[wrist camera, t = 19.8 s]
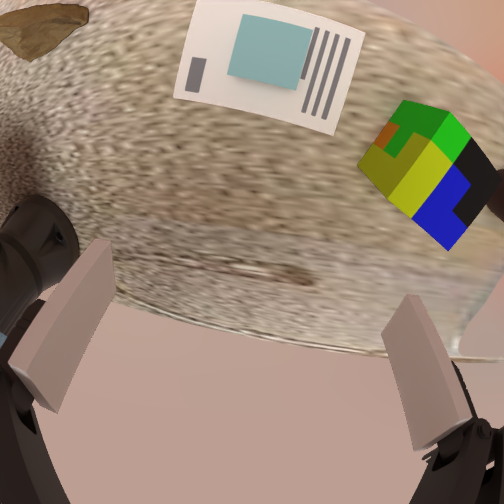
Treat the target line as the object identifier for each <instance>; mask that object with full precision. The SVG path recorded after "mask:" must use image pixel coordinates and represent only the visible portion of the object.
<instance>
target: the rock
mask: <svg viewBox="0 0 504 504" xmlns="http://www.w3.org/2000/svg"><path fill="white" fill-rule="evenodd" d="M87 20H88V9H87V8H86V7H84V6H79V5H77V4H61V3H56V4H48V5H47V4H45V5H36V6H31V7H29V8H24V9H20V10H15V11H12V12H8V13H5V14H3V15H1V16H0V41H1V42H2V43H3V44H4V45H6V46H7V47H8V48H10V49H11V50H12V51H13V53H14V54H15V55H17V56H18V57H20V58H22V59H24V60H25V59H26V60H27V61H29V62H31V61H32V60H33V59H35V58H37V57H39V56H42V55H44V54H47V53H48V52H49V51H50V50H52V49H53V48H55V47H56V46H57V45H58V44H59V43H60V42H61V41H62V40H63V39H64V38H66V37H67V36H68V35H69V34H70V33H71V32H72V31H73V30H74V29H76V28H78V27H80V26H83V25H84V24H85V23H86V22H87Z"/></svg>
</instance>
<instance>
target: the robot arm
mask: <svg viewBox="0 0 504 504" xmlns="http://www.w3.org/2000/svg"><path fill="white" fill-rule="evenodd" d="M60 281H61V282H60ZM58 282H60V283H59V284H58V286H57V287H56V288H55V290H54V291H53V293H52V294H51V295H50V297H49V298H48V300H47V301H44V300H41V299H37V298H38V297H39V295H40V294H41V293H42V292H43V291H44V290H46V289H48V288H50V287H51V286H53V285H55V284H57V283H58ZM115 293H116V284H115V276H114V268H113V259H112V249H111V241H107V240H102V239H98V238H95V239H94V240H93V242H92V243H91V244H90V245H89V246H88V247H87V249H86V250H85V251H84V252H83V254H82V255H81V256H80V257H79V245H78V240H77V237H76V234H75V232H74V229H73V227H72V225H71V223H70V222H69V220H68V219H67V217H66V216H65V214H64V213H63V212H62V211H61V210H60V209H59V208H58V207H57V206H56V205H55V204H54V203H53V202H51V201H50V200H48V199H46V198H44V197H41V196H37V195H31V196H27V197H25V198H24V199H22V200H21V201H20V202H18V203H17V204H16V205H15V206H14V207H13V208H12V209H11V211H10V213H9V214H8V216H7V218H6V219H5V221H4V223H3V224H2V226H1V228H0V504H1V503H2V504H70V502H69V500H68V498H67V496H66V494H65V492H64V489H63V487H62V485H61V483H60V481H59V479H58V476H57V474H56V472H55V469H54V467H53V464H52V462H51V459H50V457H49V454H48V451H47V449H46V446H45V443H44V441H43V438H42V434H41V431H40V428H39V425H38V421H37V418H36V415H35V411H34V408H33V406H32V403H33V401H34V399H35V400H36V401H37V402H38V403H39V405H40V406H42V407H44V408H46V409H48V410H50V411H53V412H55V413H57V414H58V411H59V409H60V406H61V404H62V401H63V399H64V396H65V394H66V392H67V389H68V387H69V385H70V383H71V380H72V378H73V376H74V373H75V371H76V369H77V367H78V365H79V363H80V361H81V358H82V356H83V354H84V352H85V350H86V348H87V346H88V344H89V342H90V340H91V338H92V336H93V334H94V332H95V330H96V328H97V326H98V324H99V322H100V320H101V318H102V316H103V314H104V313H105V311H106V309H107V307H108V305H109V303H110V302H111V300H112V298H113V296H114V294H115ZM36 299H37V300H36ZM381 336H382V338H383V341H384V344H385V347H386V351H387V354H388V357H389V360H390V363H391V366H392V370H393V373H394V376H395V380H396V383H397V386H398V390H399V393H400V397H401V401H402V404H403V408H404V412H405V416H406V419H407V424H408V427H409V432H410V436H411V441H412V445H413V450H414V452H416V451H420V450H425V449H428V448H430V447H431V446H433V445H434V444H436V443H437V445H438V447H437V448H436V449H434V450H433V451H431V452H429V453H428V454H426V455H424V457H423V458H422V460H425V459H427V458H428V457H430V456H431V458H430V459H428V460H427V461H426V462H427V463H428V465H427V468H426V470H425V472H424V474H423V477H422V479H421V481H420V483H419V485H418V487H417V489H416V491H415V493H414V495H413V497H412V499H411V501H410V503H409V504H504V426H503V427H502V428H500V429H496V428H492V427H491V426H490V424H489V422H487V421H486V420H485V419H483V418H480V419H478V417H477V414H476V412H475V409H474V406H473V403H472V401H471V398H470V395H469V393H468V390H467V389H466V385H465V383H464V381H463V378H462V375H461V373H460V371H459V369H458V368H457V366H456V365H455V364H454V362H453V361H451V360H450V358H449V356H448V354H447V351H446V349H445V347H444V345H443V343H442V341H441V338H440V336H439V334H438V332H437V330H436V328H435V326H434V324H433V322H432V320H431V318H430V316H429V314H428V312H427V310H426V308H425V306H424V304H423V303H422V301H421V299H420V297H419V296H417V295H411V294H406V296H405V298H404V299H403V301H402V303H401V304H400V306H399V307H398V309H397V310H396V312H395V314H394V315H393V317H392V318H391V320H390V321H389V323H388V324H387V326H386V327H385V329H384V330H383V332H382V333H381ZM494 460H495V461H494ZM492 461H494V466H493V467H492V468H490V469H488V470H486V465H487V464H489V463H491V462H492Z"/></svg>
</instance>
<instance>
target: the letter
mask: <svg viewBox="0 0 504 504" xmlns="http://www.w3.org/2000/svg"><path fill="white" fill-rule="evenodd" d="M243 14H247V15H253V16H258V17H263V18H268V19H273V20H277V21H281V22H286V23H290V24H293V25H297V26H301V27H304V28H308V29H311V30H313V32H312V36H311V39H310V43H309V46H308V50H307V53H306V57H305V60H304V64H303V67H302V71H301V74H300V78H299V82H298V85H297V89H296V91H295V90H291V89H288V88H284V87H280V86H276V85H272V84H268V83H264V82H259V81H255V80H250V79H245V78H240V77H235V76H230V75H227V72H228V68H229V64H230V60H231V56H232V52H233V48H234V44H235V40H236V37H237V33H238V29H239V26H240V22H241V19H242V15H243ZM364 36H365V32H362V31H360V30H357V29H355V28H352V27H350V26H347V25H344V24H342V23H339V22H336V21H333V20H330V19H327V18H324V17H321V16H318V15H315V14H312V13H308V12H305V11H301V10H298V9H294V8H290V7H286V6H282V5H278V4H273V3H269V2H264V1H259V0H197V2H196V5H195V9H194V12H193V16H192V19H191V23H190V26H189V30H188V33H187V37H186V41H185V45H184V49H183V53H182V57H181V61H180V66H179V70H178V75H177V79H176V84H175V89H174V94H173V98H177V99H184V100H190V101H196V102H202V103H208V104H213V105H218V106H223V107H228V108H233V109H238V110H242V111H247V112H251V113H255V114H259V115H263V116H267V117H271V118H275V119H279V120H282V121H286V122H289V123H293V124H296V125H300V126H303V127H306V128H310V129H313V130H316V131H319V132H322V133H325V134H328V135H331V136H333V135H334V132H335V129H336V126H337V123H338V120H339V117H340V114H341V111H342V108H343V105H344V102H345V99H346V95H347V92H348V89H349V86H350V83H351V79H352V76H353V73H354V70H355V66H356V63H357V60H358V56H359V53H360V50H361V46H362V43H363V39H364Z"/></svg>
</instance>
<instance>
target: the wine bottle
mask: <svg viewBox="0 0 504 504" xmlns="http://www.w3.org/2000/svg"><path fill="white" fill-rule="evenodd" d="M497 172H498V174H499V175H500V177H501V178H502V182H501V183H500V185H499V186H498V188H497V189H496V191H495V192H494V194H493V195H492V196H491V198H490V199H489V201H488V202H487V205H488V207H489V209H490V210H491V211H492V212H493V213H494V214H495V215H496V216H497V217H498V218H500V219H501V220H502V221H503V222H504V170H499V171H497Z"/></svg>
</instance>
